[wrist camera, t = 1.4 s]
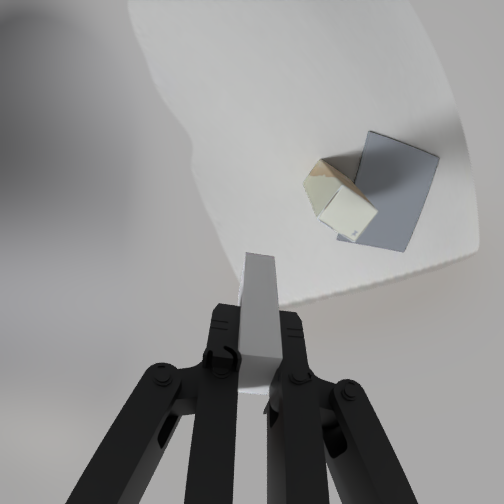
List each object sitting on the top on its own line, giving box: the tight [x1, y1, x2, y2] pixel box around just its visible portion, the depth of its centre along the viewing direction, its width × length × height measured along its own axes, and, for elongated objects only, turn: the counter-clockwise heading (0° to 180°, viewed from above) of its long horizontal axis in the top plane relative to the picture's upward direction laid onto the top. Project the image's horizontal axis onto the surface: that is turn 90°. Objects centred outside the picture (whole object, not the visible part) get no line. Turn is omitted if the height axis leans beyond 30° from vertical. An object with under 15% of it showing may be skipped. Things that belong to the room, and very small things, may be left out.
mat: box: [337, 131, 439, 252], centre depth 35 cm, size 16×12×1 cm
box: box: [303, 159, 378, 242], centre depth 30 cm, size 5×4×11 cm
